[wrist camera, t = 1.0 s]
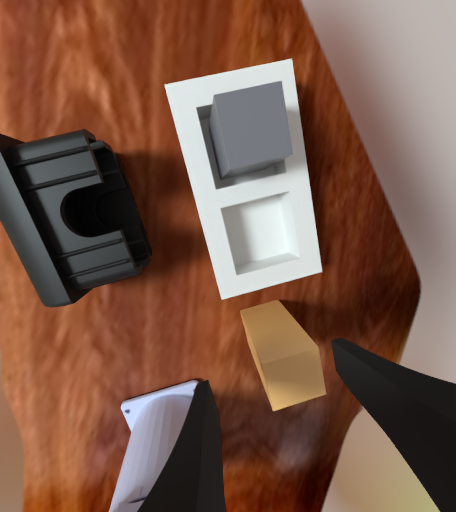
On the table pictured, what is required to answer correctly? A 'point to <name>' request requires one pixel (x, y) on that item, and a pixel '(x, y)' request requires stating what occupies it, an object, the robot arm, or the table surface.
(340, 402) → the table surface
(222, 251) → the socket strip
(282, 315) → the tan rectangular block
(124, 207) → the end cap
